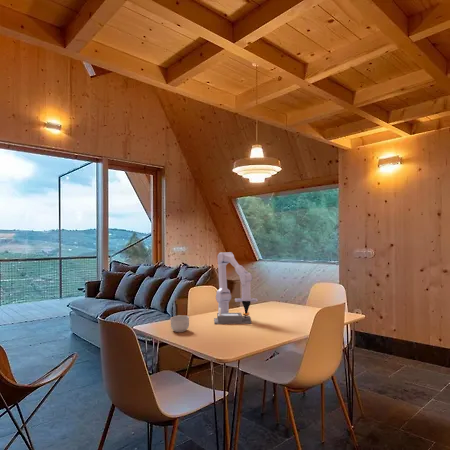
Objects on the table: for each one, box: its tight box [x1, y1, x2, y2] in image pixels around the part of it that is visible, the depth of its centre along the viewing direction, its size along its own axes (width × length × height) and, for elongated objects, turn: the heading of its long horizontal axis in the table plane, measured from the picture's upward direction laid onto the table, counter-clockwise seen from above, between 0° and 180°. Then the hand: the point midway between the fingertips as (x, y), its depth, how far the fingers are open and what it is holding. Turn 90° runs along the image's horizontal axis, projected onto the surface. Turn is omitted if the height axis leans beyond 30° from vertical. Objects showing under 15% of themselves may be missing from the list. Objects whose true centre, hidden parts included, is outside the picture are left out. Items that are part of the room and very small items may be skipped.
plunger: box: [242, 311, 250, 317], centre depth 239 cm, size 4×4×3 cm
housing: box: [213, 312, 252, 325], centre depth 238 cm, size 12×23×5 cm, turn 94°
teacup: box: [169, 314, 190, 333], centre depth 216 cm, size 14×11×8 cm
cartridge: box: [218, 308, 238, 316], centre depth 238 cm, size 6×13×7 cm, turn 94°
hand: (246, 312), depth 239 cm, fingers closed, pressing on plunger
